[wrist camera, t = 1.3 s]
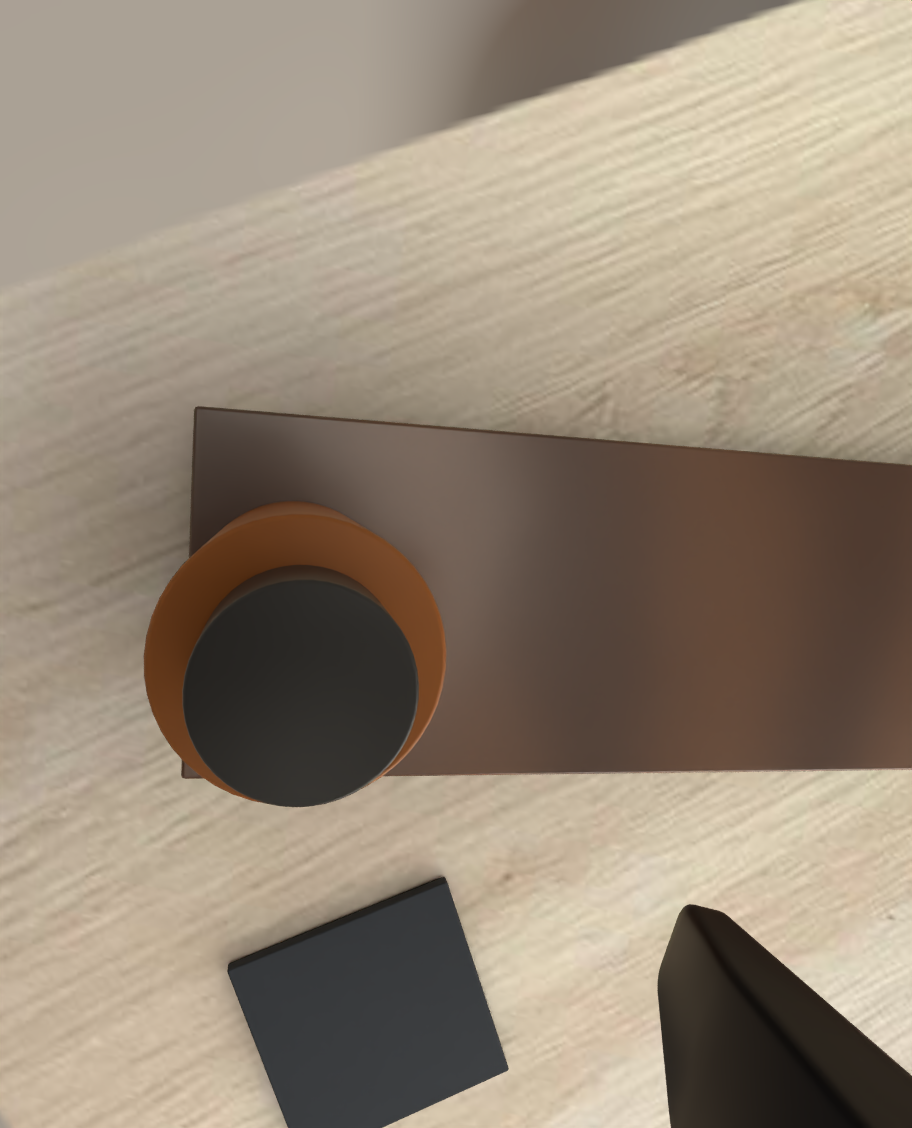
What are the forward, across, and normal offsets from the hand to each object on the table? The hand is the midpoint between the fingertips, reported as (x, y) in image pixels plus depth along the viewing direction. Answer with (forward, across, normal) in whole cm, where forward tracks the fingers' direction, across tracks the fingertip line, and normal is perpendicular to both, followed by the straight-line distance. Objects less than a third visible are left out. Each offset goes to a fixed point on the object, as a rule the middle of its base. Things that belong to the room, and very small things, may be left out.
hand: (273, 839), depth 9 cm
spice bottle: (+11, +2, +1) cm, 11 cm away
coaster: (+14, -2, +14) cm, 20 cm away
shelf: (+20, -18, -2) cm, 28 cm away
